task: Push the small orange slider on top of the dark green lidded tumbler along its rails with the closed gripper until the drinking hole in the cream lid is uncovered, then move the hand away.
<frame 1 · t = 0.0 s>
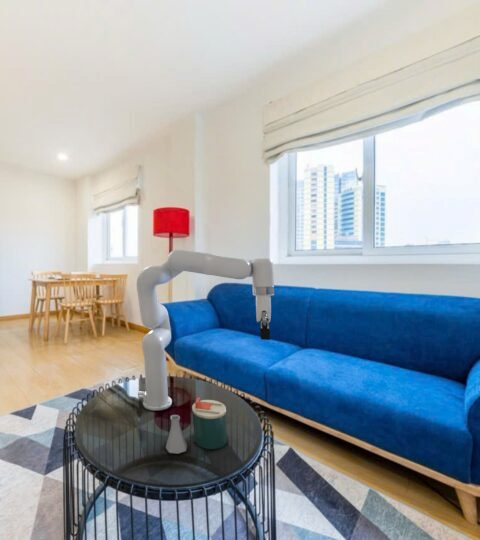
hand: (265, 336, 109), 31 cm above the table, tool pointing down, fingers open, 9 cm apart
slider: (203, 403, 98), point 12 cm above the table, slide at 0.0 cm
flask: (176, 447, 94), on the table
tumbler: (210, 438, 98), on the table
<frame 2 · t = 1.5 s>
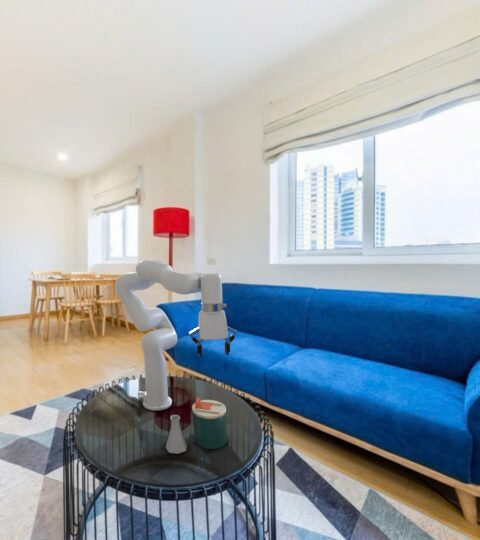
hand: (213, 354, 104), 27 cm above the table, tool pointing down, fingers open, 9 cm apart
nothing on the table moved.
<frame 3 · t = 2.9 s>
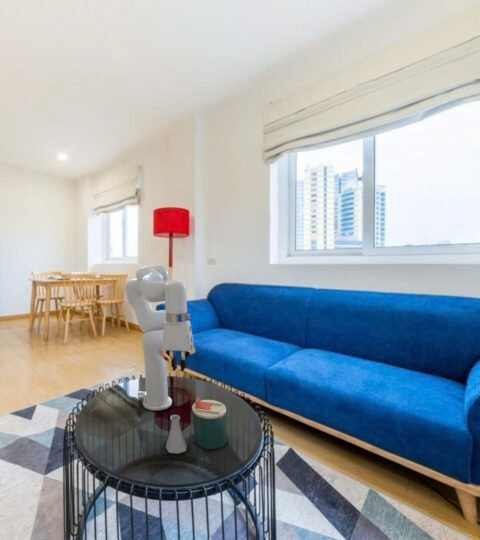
hand: (178, 369, 101), 23 cm above the table, tool pointing down, fingers closed
nothing on the table moved.
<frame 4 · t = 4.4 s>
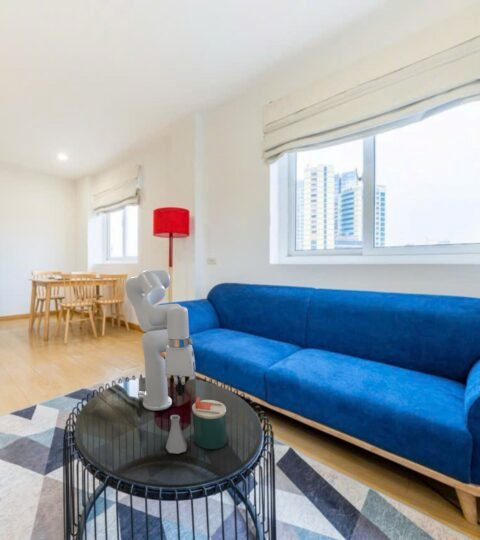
hand: (181, 394, 101), 14 cm above the table, tool pointing down, fingers closed
nothing on the table moved.
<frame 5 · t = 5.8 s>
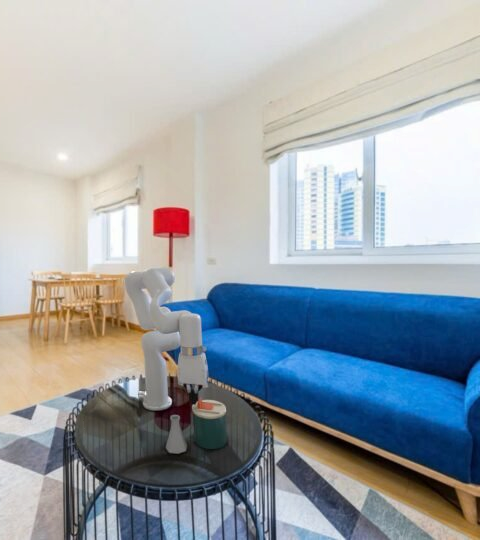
hand: (194, 402, 99), 12 cm above the table, tool pointing down, fingers closed
slider: (205, 403, 98), point 12 cm above the table, slide at 0.7 cm, touching gripper
everything else where it was.
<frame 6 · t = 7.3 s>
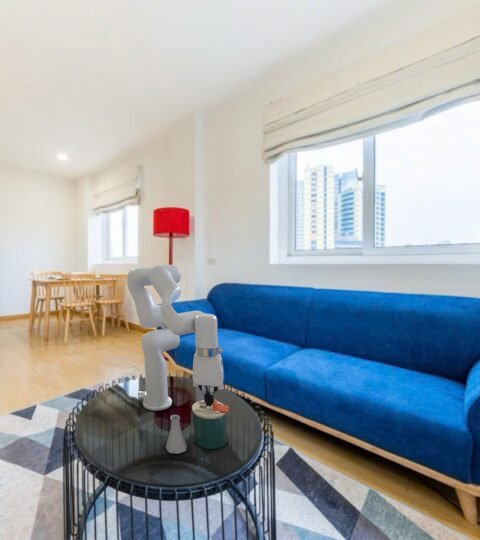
hand: (209, 404, 98), 12 cm above the table, tool pointing down, fingers closed
slider: (220, 405, 96), point 12 cm above the table, slide at 5.9 cm, touching gripper
everything else where it was.
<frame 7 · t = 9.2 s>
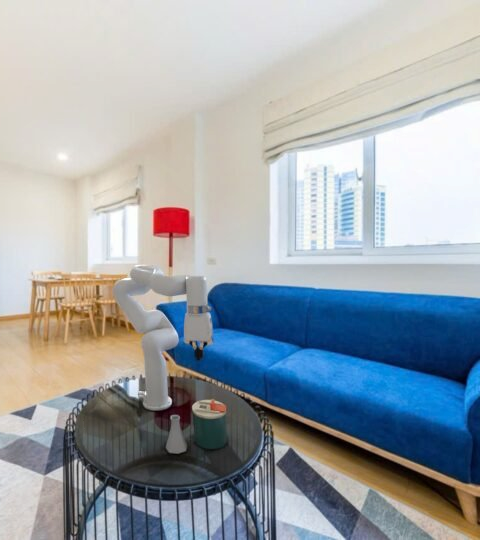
hand: (199, 359, 105), 25 cm above the table, tool pointing down, fingers closed
slider: (218, 405, 97), point 12 cm above the table, slide at 5.1 cm
everything else where it was.
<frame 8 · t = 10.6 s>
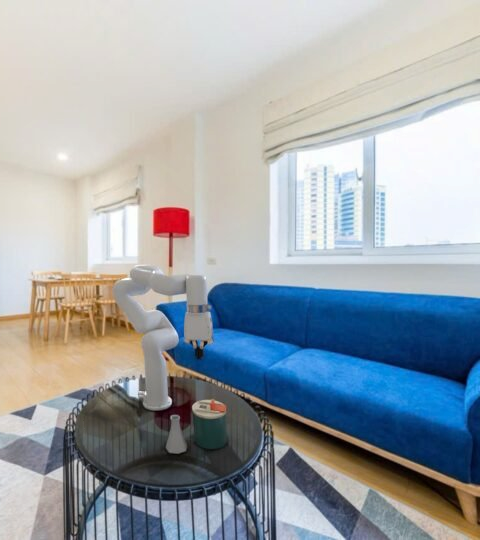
hand: (199, 358, 106), 25 cm above the table, tool pointing down, fingers closed
nothing on the table moved.
at the end: slider slide at 5.1 cm; slider pulled out 5.9 cm at the most during the clip, back to 5.1 cm at the end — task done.
